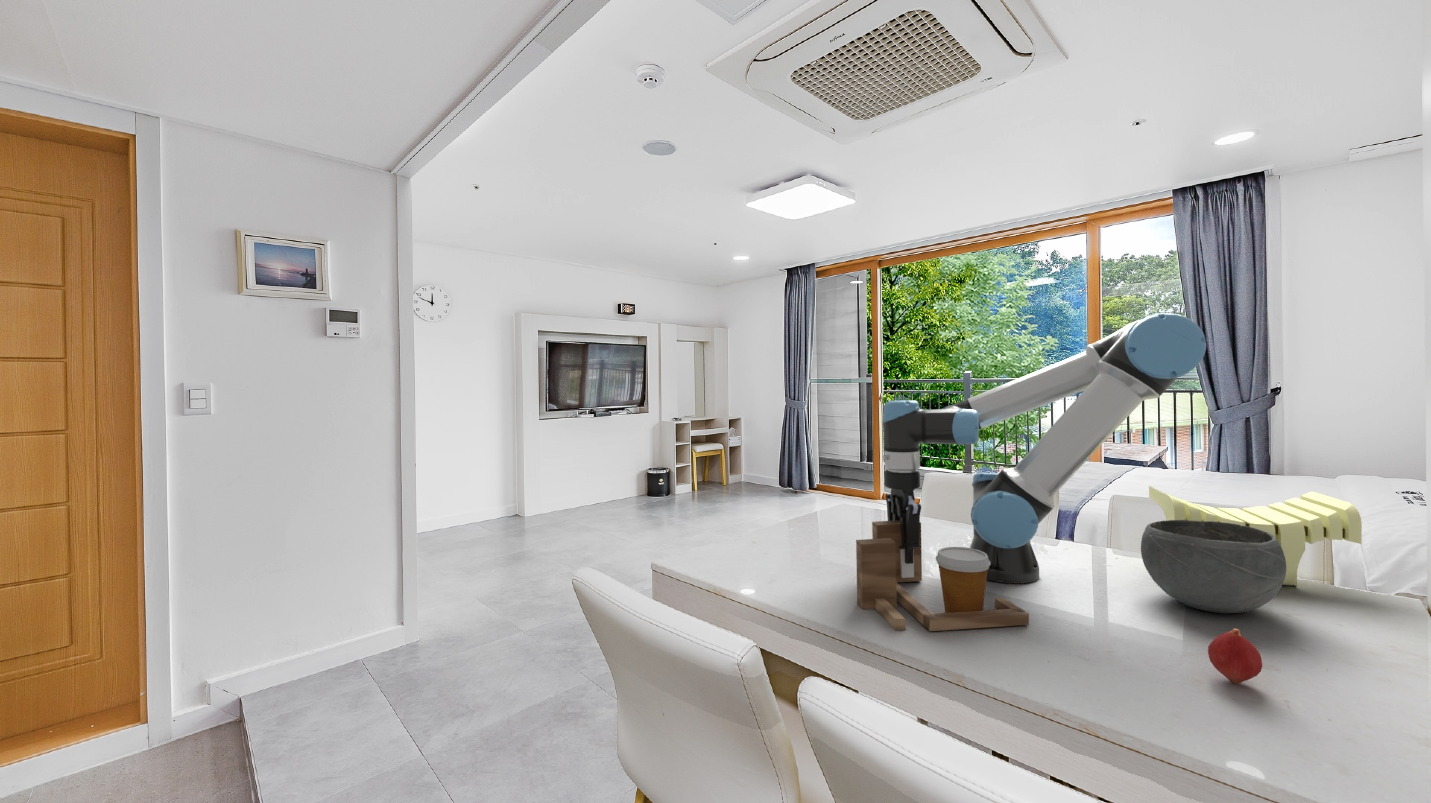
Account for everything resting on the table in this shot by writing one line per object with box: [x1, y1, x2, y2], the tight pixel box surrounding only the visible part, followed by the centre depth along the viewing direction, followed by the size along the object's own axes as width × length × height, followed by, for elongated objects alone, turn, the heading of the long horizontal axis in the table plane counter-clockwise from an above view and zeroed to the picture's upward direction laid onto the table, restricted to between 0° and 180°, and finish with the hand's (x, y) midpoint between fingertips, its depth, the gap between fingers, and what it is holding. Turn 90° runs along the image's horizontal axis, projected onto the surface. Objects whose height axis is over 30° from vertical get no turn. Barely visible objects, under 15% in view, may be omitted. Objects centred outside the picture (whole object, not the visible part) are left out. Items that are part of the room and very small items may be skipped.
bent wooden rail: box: [871, 520, 1030, 632], centre depth 115 cm, size 27×19×13 cm
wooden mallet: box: [855, 538, 906, 631], centre depth 108 cm, size 13×7×13 cm, turn 5°
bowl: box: [1140, 519, 1286, 614], centre depth 109 cm, size 21×21×15 cm
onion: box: [1207, 628, 1263, 684], centre depth 82 cm, size 6×6×8 cm
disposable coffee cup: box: [935, 546, 991, 613], centre depth 107 cm, size 10×10×12 cm
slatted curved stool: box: [1148, 485, 1363, 587], centre depth 125 cm, size 30×16×18 cm, turn 69°
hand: (903, 573), depth 127 cm, fingers closed on bent wooden rail, 3 cm apart
